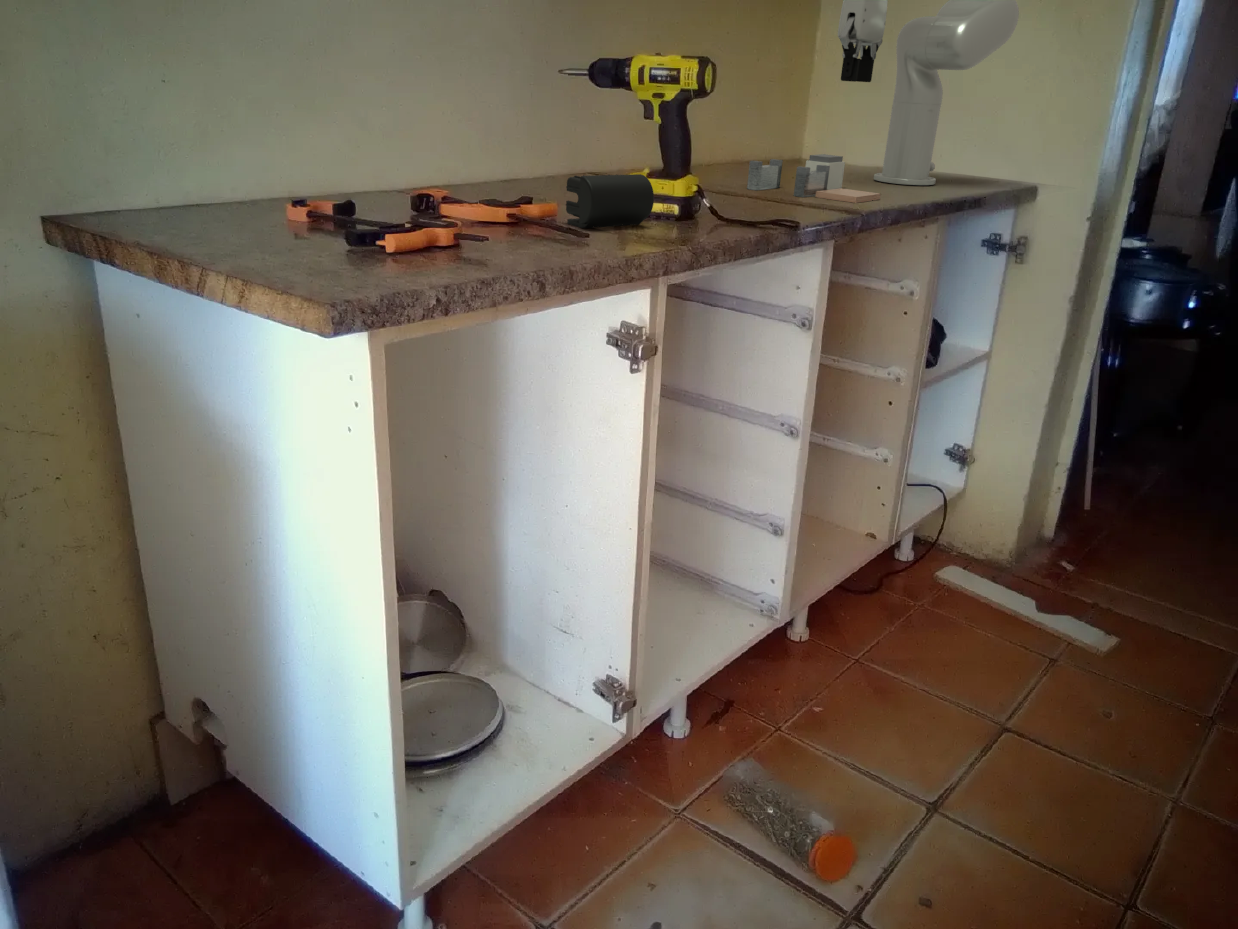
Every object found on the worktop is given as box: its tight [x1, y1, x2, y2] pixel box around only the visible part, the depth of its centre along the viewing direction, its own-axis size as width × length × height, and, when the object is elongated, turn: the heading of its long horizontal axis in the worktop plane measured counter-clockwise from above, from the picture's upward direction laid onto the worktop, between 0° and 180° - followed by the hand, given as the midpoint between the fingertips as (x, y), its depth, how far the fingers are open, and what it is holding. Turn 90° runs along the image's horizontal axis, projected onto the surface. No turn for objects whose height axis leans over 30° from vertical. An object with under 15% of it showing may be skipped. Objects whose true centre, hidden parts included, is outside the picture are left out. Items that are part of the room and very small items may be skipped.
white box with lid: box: [805, 153, 846, 190], centre depth 182 cm, size 6×5×6 cm
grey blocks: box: [746, 158, 830, 198], centre depth 173 cm, size 8×12×5 cm, turn 49°
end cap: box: [565, 173, 655, 229], centre depth 127 cm, size 10×7×7 cm
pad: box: [815, 188, 882, 204], centre depth 169 cm, size 9×8×1 cm
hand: (855, 80), depth 180 cm, fingers open, 4 cm apart
